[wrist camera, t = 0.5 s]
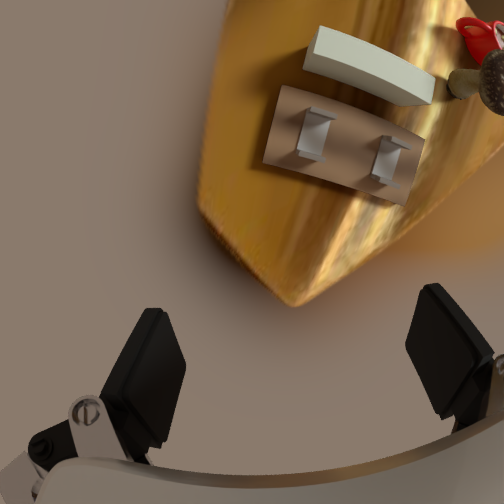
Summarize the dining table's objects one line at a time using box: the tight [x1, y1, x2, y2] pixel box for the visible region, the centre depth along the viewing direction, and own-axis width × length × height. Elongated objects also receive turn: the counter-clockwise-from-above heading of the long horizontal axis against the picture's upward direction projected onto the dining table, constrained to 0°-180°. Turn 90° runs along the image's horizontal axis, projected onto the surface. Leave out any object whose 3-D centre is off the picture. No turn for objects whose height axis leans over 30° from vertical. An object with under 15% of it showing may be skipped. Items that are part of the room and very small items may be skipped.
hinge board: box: [262, 85, 425, 207], centre depth 29 cm, size 10×20×5 cm, turn 77°
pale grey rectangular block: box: [302, 26, 436, 107], centre depth 24 cm, size 4×14×8 cm, turn 77°
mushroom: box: [446, 49, 504, 116], centre depth 19 cm, size 9×9×15 cm
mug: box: [456, 17, 504, 66], centre depth 17 cm, size 8×12×8 cm, turn 85°
